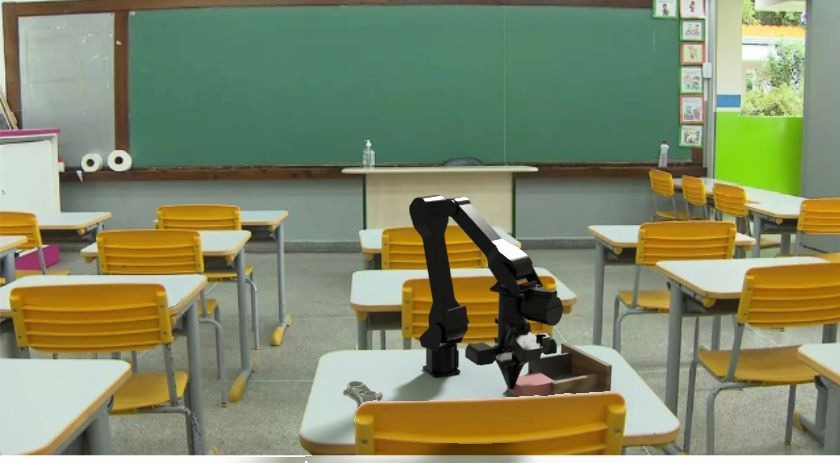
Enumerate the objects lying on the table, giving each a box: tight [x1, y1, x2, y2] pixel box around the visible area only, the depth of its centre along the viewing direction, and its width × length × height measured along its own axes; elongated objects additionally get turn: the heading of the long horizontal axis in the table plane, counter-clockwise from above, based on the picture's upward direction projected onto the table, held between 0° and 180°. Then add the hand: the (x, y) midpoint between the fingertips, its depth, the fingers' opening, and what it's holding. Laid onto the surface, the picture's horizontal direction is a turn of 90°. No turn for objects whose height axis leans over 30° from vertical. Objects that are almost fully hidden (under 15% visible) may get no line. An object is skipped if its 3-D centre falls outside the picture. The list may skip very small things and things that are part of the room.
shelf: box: [526, 342, 613, 395], centre depth 161 cm, size 12×16×6 cm
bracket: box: [346, 380, 384, 404], centre depth 153 cm, size 8×2×15 cm
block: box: [506, 372, 555, 397], centre depth 158 cm, size 8×6×3 cm
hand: (510, 388), depth 156 cm, fingers closed
